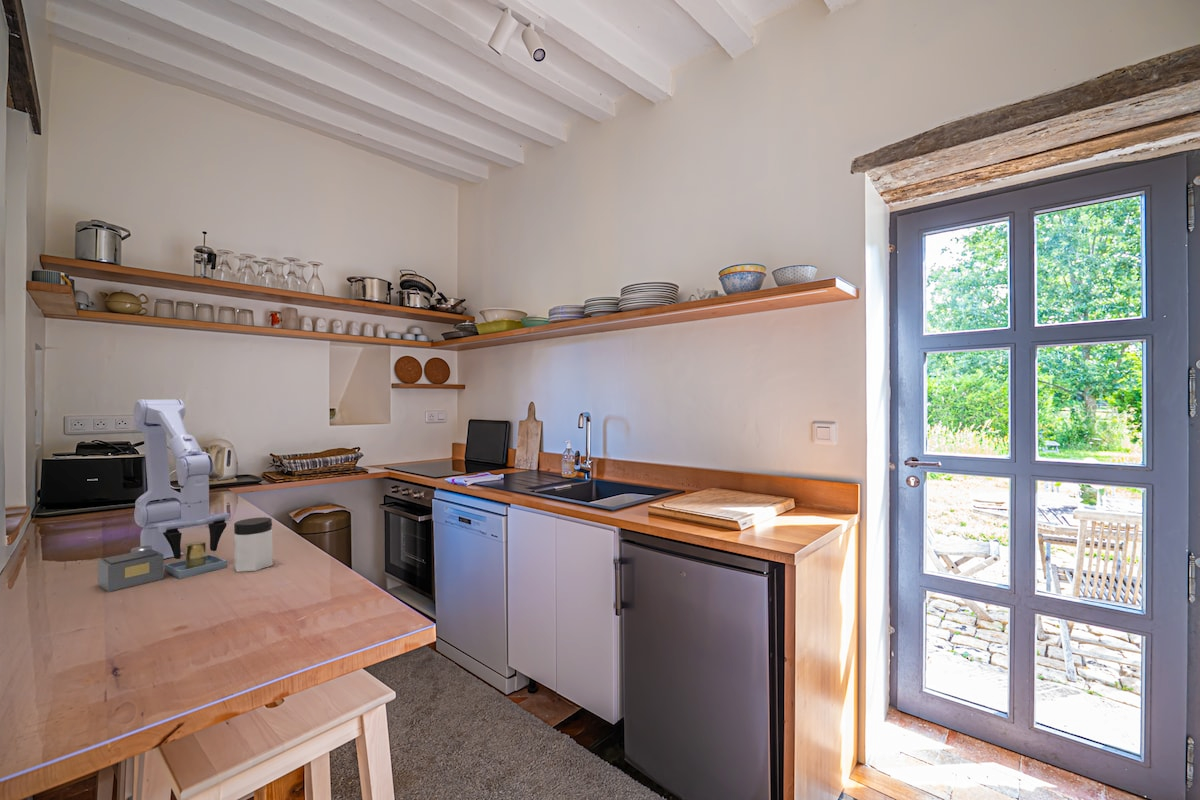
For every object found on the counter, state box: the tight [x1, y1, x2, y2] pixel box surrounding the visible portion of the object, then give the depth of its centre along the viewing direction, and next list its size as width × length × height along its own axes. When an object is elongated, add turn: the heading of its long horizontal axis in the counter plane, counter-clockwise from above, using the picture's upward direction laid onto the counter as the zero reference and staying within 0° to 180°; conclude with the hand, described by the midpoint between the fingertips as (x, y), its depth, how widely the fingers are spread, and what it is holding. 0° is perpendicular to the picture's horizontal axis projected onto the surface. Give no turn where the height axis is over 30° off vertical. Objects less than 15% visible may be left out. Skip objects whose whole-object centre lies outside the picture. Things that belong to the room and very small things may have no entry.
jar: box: [233, 516, 274, 573], centre depth 133 cm, size 9×8×12 cm
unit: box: [97, 549, 165, 593], centre depth 122 cm, size 9×10×6 cm
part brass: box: [185, 541, 207, 569], centre depth 131 cm, size 4×4×6 cm
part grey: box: [130, 546, 152, 553], centre depth 130 cm, size 4×4×6 cm
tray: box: [164, 553, 228, 580], centre depth 131 cm, size 10×10×2 cm
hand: (195, 554), depth 131 cm, fingers open, 7 cm apart
